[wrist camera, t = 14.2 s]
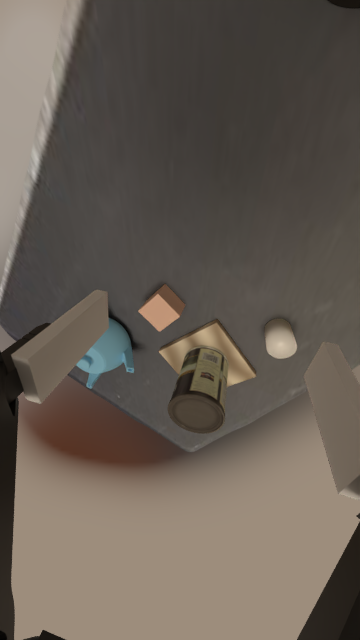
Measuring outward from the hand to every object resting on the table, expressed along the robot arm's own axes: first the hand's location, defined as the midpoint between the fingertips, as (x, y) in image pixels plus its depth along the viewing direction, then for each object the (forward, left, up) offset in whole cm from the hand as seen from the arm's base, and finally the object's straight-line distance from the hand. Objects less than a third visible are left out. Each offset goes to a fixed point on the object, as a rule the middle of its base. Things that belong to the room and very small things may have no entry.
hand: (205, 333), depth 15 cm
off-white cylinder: (+2, +21, -31) cm, 37 cm away
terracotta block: (+18, +4, -31) cm, 36 cm away
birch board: (+19, +21, -31) cm, 42 cm away
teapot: (+37, +4, -31) cm, 48 cm away
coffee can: (+19, +21, -29) cm, 41 cm away
